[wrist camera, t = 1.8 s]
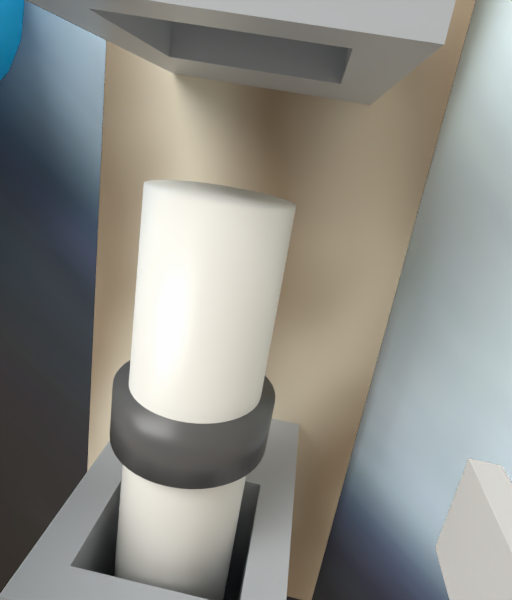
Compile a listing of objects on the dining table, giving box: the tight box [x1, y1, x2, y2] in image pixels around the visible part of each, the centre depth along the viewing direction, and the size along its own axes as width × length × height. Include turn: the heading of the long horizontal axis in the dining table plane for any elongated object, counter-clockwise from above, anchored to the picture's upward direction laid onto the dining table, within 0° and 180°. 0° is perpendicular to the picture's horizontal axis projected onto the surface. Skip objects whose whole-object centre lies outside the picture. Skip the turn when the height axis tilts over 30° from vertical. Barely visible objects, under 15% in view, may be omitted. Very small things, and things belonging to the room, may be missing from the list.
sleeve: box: [0, 419, 299, 600], centre depth 17 cm, size 9×7×10 cm
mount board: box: [87, 0, 476, 600], centre depth 20 cm, size 12×28×1 cm, turn 171°
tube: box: [110, 180, 296, 600], centre depth 14 cm, size 18×4×4 cm, turn 171°
